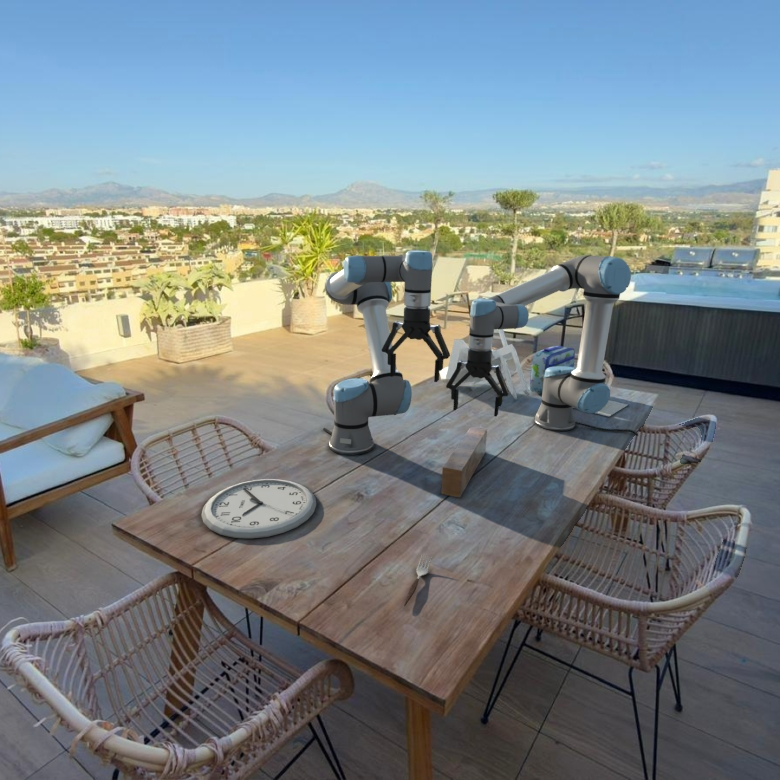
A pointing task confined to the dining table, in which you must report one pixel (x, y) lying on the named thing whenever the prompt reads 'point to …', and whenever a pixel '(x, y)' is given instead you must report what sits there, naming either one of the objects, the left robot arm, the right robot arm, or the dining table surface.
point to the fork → (420, 572)
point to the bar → (463, 462)
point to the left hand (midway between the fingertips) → (414, 378)
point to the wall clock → (258, 508)
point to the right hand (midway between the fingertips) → (475, 412)
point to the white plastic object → (497, 358)
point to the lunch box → (549, 364)
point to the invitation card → (611, 408)
